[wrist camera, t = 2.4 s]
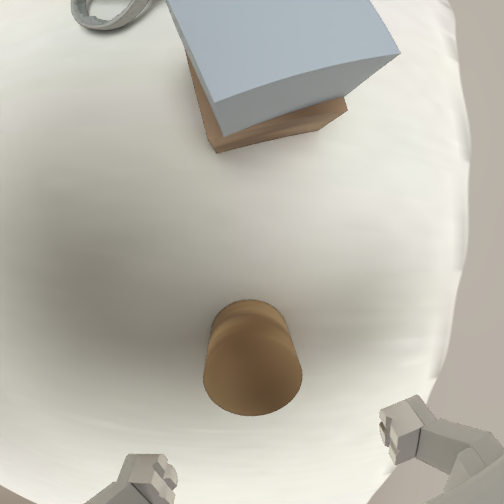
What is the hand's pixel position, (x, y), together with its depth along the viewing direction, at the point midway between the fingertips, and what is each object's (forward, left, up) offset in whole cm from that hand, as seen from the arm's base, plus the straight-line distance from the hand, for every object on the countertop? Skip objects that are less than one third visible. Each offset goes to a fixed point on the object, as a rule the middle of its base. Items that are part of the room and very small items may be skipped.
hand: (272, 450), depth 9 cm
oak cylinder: (-1, 0, -10) cm, 10 cm away
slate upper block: (+3, +14, -5) cm, 15 cm away
